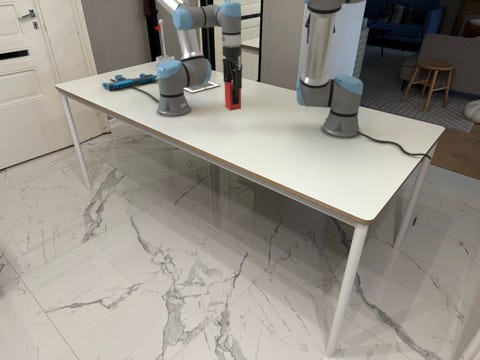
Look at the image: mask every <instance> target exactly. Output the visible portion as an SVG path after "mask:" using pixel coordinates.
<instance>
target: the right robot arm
mask: <svg viewBox="0 0 480 360" xmlns="http://www.w3.org/2000/svg"><path fill="white" fill-rule="evenodd" d="M365 1H366V0H303V1H302V2H303V3H304V4H306V9H307V11H308V12H309V14H308V16H307V18H306V22H305V24H304V27H305V28H306V29H307V30H306V44H307V47H306V57H305V58H306V59H305V66H304V71H303V72H301V74H300V77H299V76H298V77H297V79H296V102H297V104H298V105H299V106H301V107H307V108H310V107H311V108H313V107H314V108H328V109H329V112H328V115H327V117H326V118H325V119H324V123H323V126H322V130H323V132H324V133H325V134H326V135H329V136H332V137H335V138H339V139H341V138H342V139H349V138H354V137H356V136H357V135H360V136H362V137H364V138H367V139H369V140H371V141H373V142H377V143H381V144H382V143H383V144H391V145H395V146H396V147H398V148H399V149H400V151H402V153H404V154H405V155H408V156H411V157H412V156H414V157H416V156H417V157H418V156H421V157H426V158H427V159H428V160H432V157H431V156H430V155H429V154H428V153H422V152H419V153H418V152H417V153H412V152H409V151H406V150H405V149H404V148H403V146H402V145H400V143H397V142H395V141H391V140H380V139H377V138H373V137H372V136H370V135H367V134H365V133H362V132H361V131H360V125H359V118H358V117H359V116H358V114H359V111H360V110H359V109H360V105H361V99H362V95H363V89H364V83H363V82H362V80H361V79H359V78H358V77H355V76H351V75H348V74H337V75H334V79H333V78H331V76H330V74H329V73H328V68H329V67H328V66H329V61H330V53H331V48H332V41H333V35H334V34H336V25H335V21H336V16H337V14H338V13H339V12H340V11H342V7H343V5H351V4H352V5H353V4H359V3H364V2H365ZM417 219H418V216H416V217H414V218H413V222H412V224H411V225H412V227H415V225H416V222H417Z"/></svg>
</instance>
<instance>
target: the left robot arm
mask: <svg viewBox="0 0 480 360" xmlns="http://www.w3.org/2000/svg"><path fill="white" fill-rule="evenodd" d="M156 2H158V4H160V5H161V7H162V8H163V9H165V10H166V11H167V12H168V13H169V15H170V16H172V17H171V18H172V23H173V25H174V28H175V30H176V32H177V37H178V42H179V47H180V50H181V55H182V56H181V58H180V60H177V59H175V60H173V61H166V62H163V63H161V64H159V65H158V66H157V67H156V75H157V78H156V79H157V84H158V90H159V100H158V99H157V98H155V97H154V96H153V95H151V94H150V93H148V92H147V91H145V90H143V89H141V88H138V87H134V86H133V85H130V86H127V87H128V88H131V89H134V90H137V91H139V92H142V93H144V94H146V95H147V96H149V97H150V98H152V99H153V100H154V101H155V102H157V103H158V106H157V111H158V114H159V115H162V116H165V117H179V116H183V115H185V114H187V113H189V112H190V105H189V103H188V101H187V98H186V96H185V90H184V88H187V87H192V86H197V85H202V84H205V83H208V82H209V81H210V80H211V77H212V65H211V62H210V61H209V59H207V58H205V55H204V54H203V53H202V52H201V51H200V46H199V42H198V37H197V32H196V29H197V30H198V29H206V28H215V27H219V28H221V44H222V50H221V51H222V56H223V57H225V58H222V60H221V61H222V67H223V68H222V73H223V74H222V75H223V83H224V84H225V83H227V82H233V89H232V102H233V105H234V104H239V89H241V90H242V88H243V85H242V84H243V64H240V60H239V57H241V56H242V46H241V45H242V8H241V3H240V2H239V1H235V0H234V1H233V0H226V1H222V2H221V4H220V5H219V4H209V5H206V6H191V5H190V1H189V0H156ZM109 81H112V82H118V81H117V80H116V79H112V78H110V80H109Z"/></svg>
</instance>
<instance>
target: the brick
mask: <svg viewBox="0 0 480 360" xmlns="http://www.w3.org/2000/svg"><path fill="white" fill-rule="evenodd" d="M232 89H233V82H227V83H224V107H225V109H227V110H228V111H229V112H231V111H237V110H242V89H239V104H234V105H233V102H232Z"/></svg>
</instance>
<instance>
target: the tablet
mask: <svg viewBox="0 0 480 360" xmlns="http://www.w3.org/2000/svg"><path fill="white" fill-rule="evenodd" d="M217 87H221V85H220V84H219V83H216V82H213V81H210V80H209V82H208V83H205V84H202V85H197V86H192V87H187V88H184V91H185V92H188V93H191V94H195V93H197V92H201V91H206V90H210V89H213V88H217Z"/></svg>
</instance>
